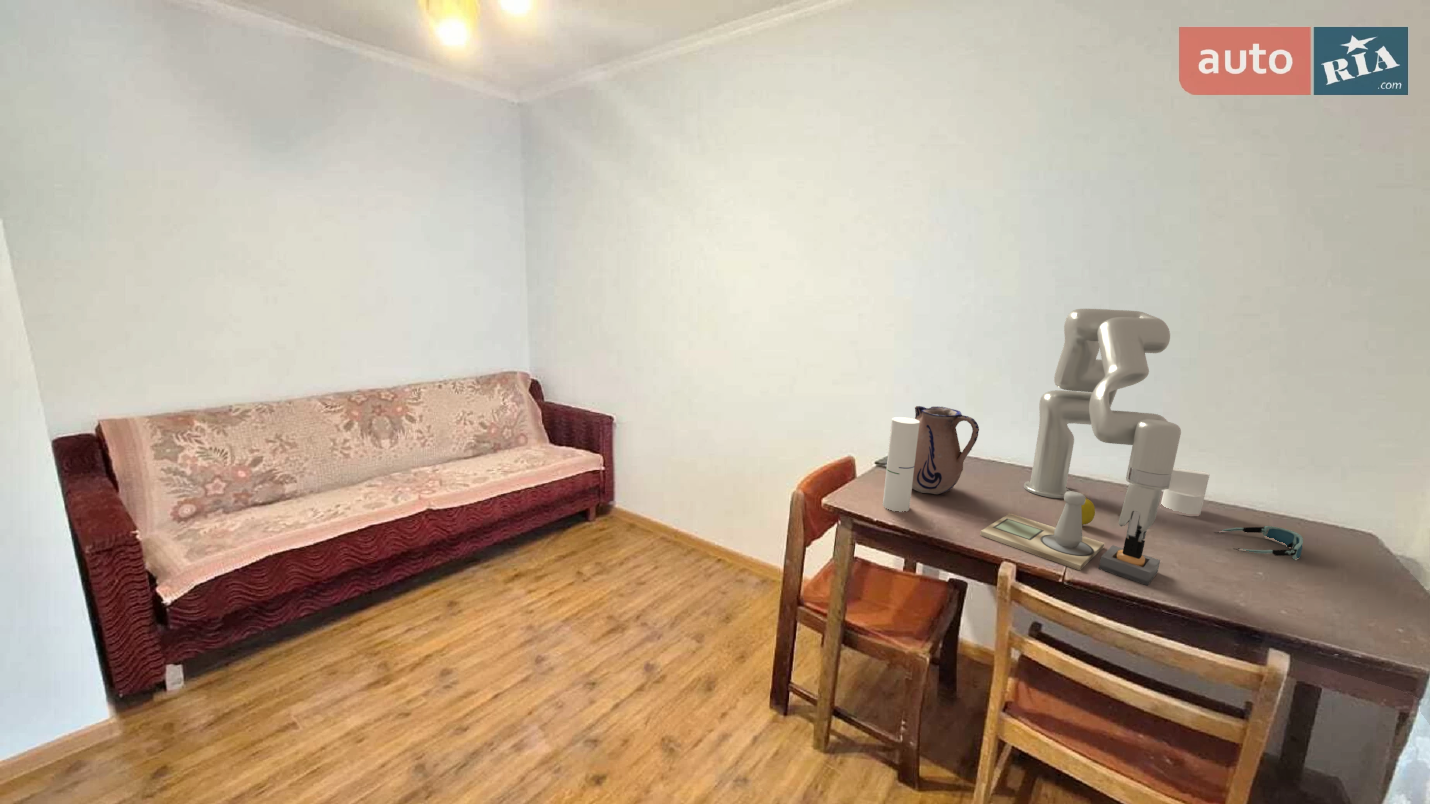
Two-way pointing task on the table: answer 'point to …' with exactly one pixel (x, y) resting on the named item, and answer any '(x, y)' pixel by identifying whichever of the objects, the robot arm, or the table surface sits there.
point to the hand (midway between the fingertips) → (1131, 555)
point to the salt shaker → (1070, 521)
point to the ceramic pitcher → (939, 449)
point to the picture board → (1041, 541)
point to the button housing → (1129, 566)
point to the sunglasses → (1280, 535)
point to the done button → (1131, 559)
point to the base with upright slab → (1186, 491)
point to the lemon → (1087, 511)
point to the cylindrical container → (900, 463)
